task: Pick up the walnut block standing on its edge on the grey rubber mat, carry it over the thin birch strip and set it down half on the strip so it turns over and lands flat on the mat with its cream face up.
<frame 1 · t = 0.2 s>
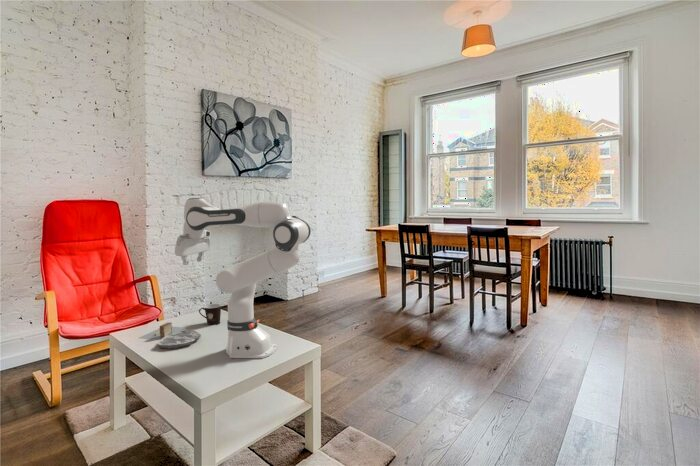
hand: (192, 263, 169), 39 cm above the table, tool pointing down, fingers open, 8 cm apart
rubber mat: (163, 333, 189), on the table
brain slice: (181, 343, 176), on the table
birch strip: (162, 332, 189), resting on rubber mat
coffee mug: (211, 323, 203), on the table
walnut block: (166, 336, 184), resting on rubber mat
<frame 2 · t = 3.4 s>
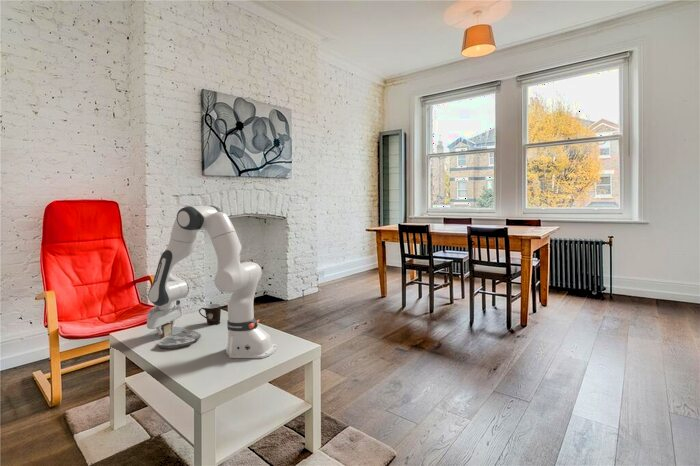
hand: (165, 331, 183), 3 cm above the table, tool pointing down, fingers closed on walnut block, 6 cm apart
walnut block: (166, 336, 184), resting on rubber mat, touching gripper
everything else where it was.
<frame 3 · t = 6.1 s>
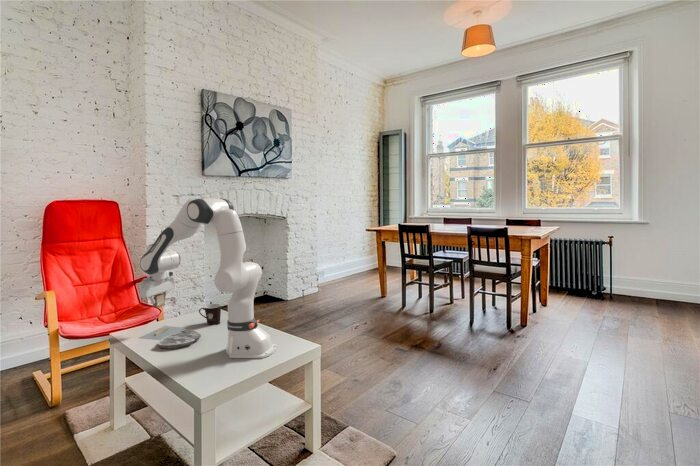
hand: (158, 301, 188), 16 cm above the table, tool pointing down, fingers closed on walnut block, 5 cm apart
walnut block: (159, 306, 188), point 14 cm above the table, touching gripper
everything else where it was.
when the fingers open (5 cm above the table, at t = 8.5 s): walnut block drops 1 cm and tips over, resting on rubber mat.
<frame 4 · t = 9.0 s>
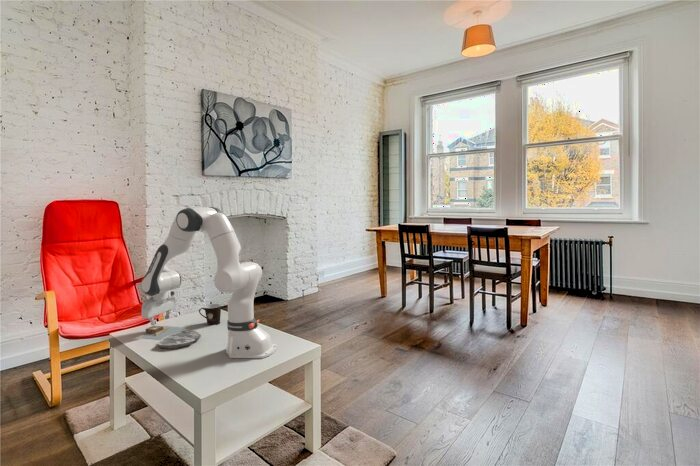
hand: (160, 321, 189), 6 cm above the table, tool pointing down, fingers open, 8 cm apart
walnut block: (159, 330, 189), point 1 cm above the table, tilted 90°, touching rubber mat
everything else where it was.
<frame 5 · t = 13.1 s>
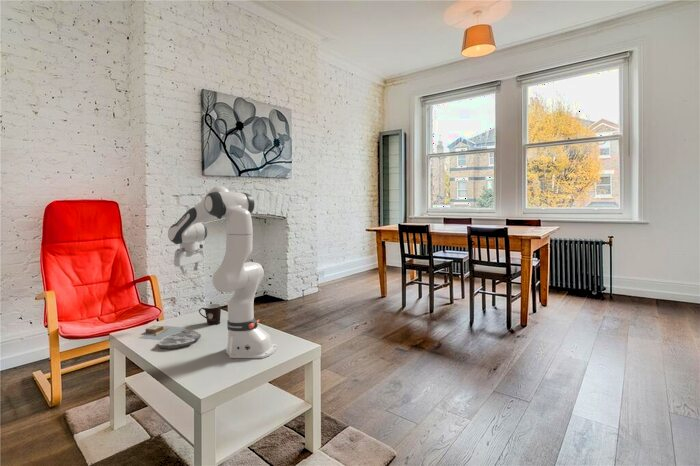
hand: (190, 272, 199), 29 cm above the table, tool pointing down, fingers open, 8 cm apart
nothing on the table moved.
at the end: walnut block tilted 90°; walnut block inside the target area (1.0 cm from its centre), point 1.5 cm above the table; the gripper is holding nothing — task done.
